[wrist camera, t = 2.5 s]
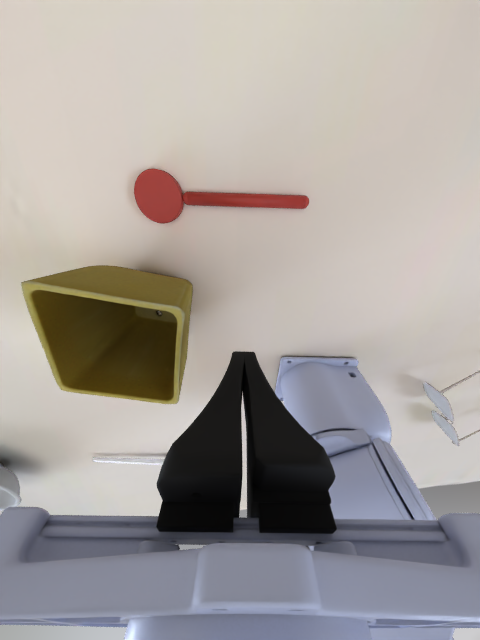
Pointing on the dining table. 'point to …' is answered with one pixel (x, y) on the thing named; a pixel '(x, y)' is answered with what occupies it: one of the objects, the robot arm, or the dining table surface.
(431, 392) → the eyeglasses
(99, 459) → the white fork
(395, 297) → the dining table surface
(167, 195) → the red spoon
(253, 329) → the dining table surface
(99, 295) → the flower pot
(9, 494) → the dish
